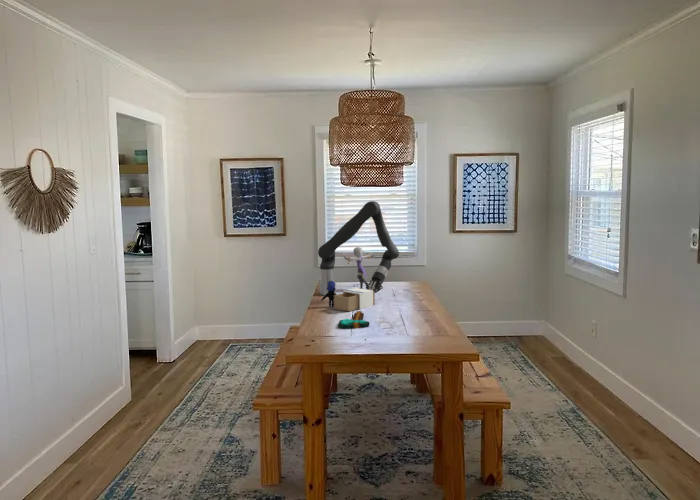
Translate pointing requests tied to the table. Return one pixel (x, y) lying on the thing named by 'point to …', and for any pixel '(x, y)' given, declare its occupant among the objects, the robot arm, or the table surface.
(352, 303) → the wooden drawer
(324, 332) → the table surface
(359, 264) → the figurine
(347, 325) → the toy
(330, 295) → the toy
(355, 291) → the sleeve
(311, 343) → the table surface
